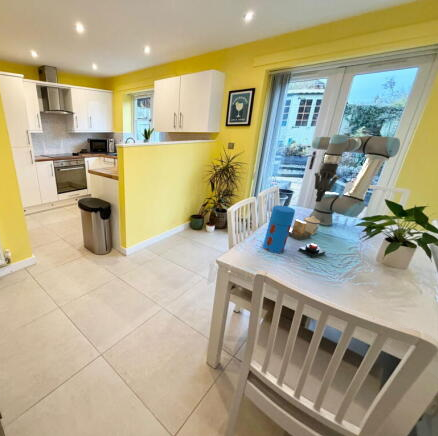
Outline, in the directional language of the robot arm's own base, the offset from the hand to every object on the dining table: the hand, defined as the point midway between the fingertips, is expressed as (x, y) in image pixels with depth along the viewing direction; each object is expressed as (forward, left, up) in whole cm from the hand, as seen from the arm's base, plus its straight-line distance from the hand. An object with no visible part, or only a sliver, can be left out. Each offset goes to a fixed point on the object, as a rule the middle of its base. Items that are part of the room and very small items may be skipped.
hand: (318, 201), depth 140 cm
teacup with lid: (-9, -5, -25) cm, 27 cm away
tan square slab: (+5, -3, -21) cm, 22 cm away
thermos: (+35, +5, -25) cm, 43 cm away
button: (+18, +16, -21) cm, 32 cm away
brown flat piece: (+5, -3, -24) cm, 25 cm away
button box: (+18, +16, -24) cm, 34 cm away
